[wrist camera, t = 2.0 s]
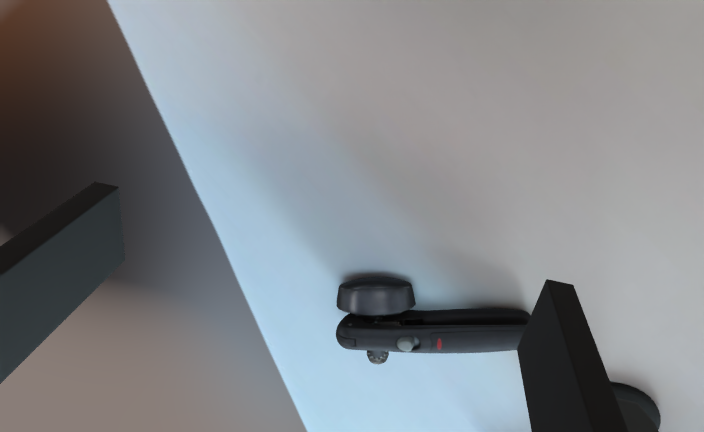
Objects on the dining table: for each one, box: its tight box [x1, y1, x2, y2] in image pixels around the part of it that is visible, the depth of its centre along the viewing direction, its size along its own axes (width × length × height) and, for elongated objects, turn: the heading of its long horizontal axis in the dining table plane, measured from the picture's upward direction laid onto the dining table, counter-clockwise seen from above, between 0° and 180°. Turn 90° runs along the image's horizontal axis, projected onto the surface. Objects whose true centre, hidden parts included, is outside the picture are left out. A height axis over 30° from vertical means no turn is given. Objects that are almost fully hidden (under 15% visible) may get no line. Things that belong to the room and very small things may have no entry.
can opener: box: [336, 277, 531, 364], centre depth 44 cm, size 18×7×6 cm, turn 90°
